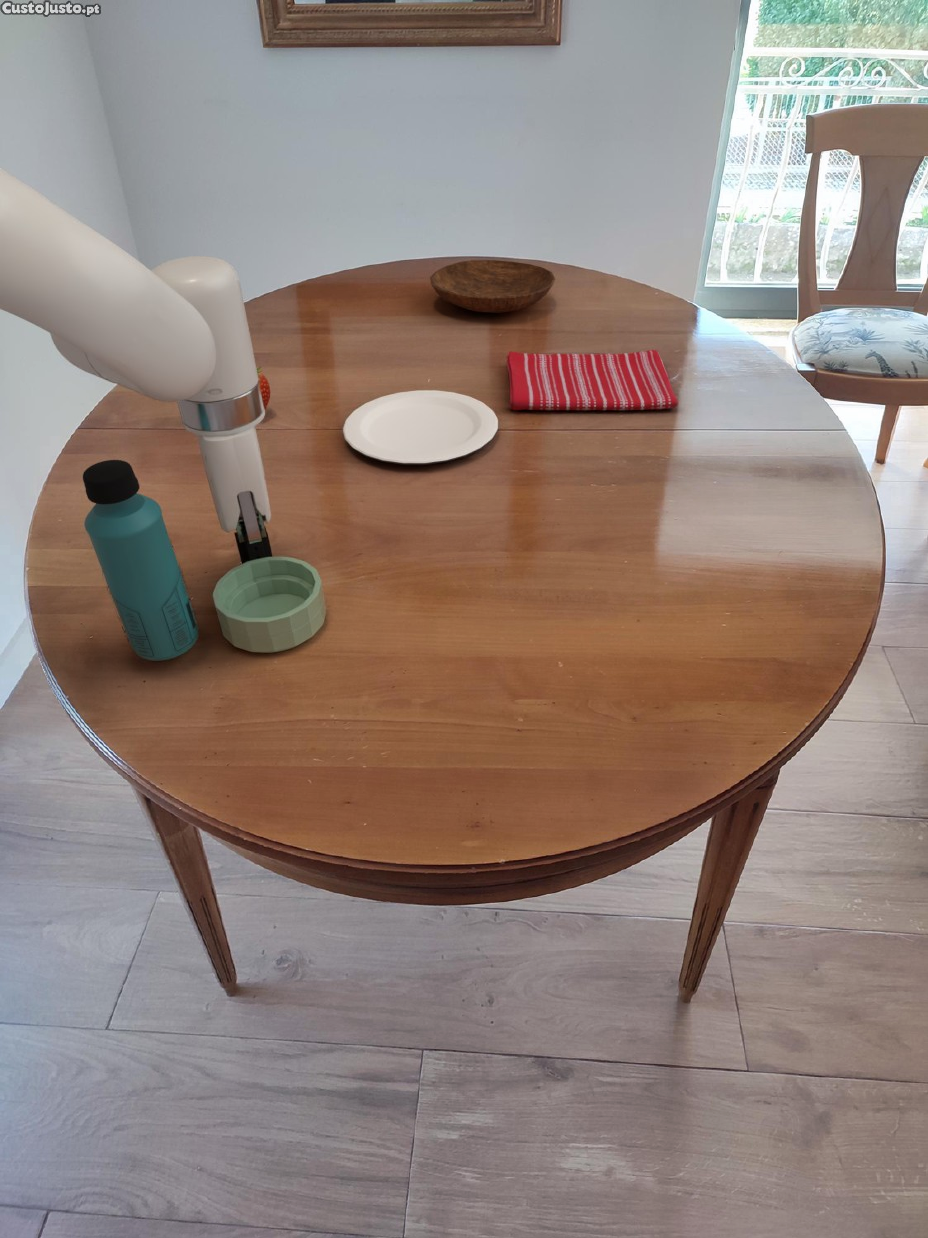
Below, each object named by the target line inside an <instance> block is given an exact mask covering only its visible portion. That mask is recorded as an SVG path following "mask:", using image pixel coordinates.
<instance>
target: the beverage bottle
mask: <svg viewBox="0 0 928 1238" xmlns="http://www.w3.org/2000/svg"><path fill="white" fill-rule="evenodd" d="M82 481H83V485H84V489H85V494H86V497H87V500H89V502H91V503H93V504H94V505H93V506H92V508H91V509H90V510H89V511H88V513H87V515H86V517H85V519H84V522H83V523H84V525H83V526H84V529H85V531H86V533H87V534H88V537H89V540H90V542H91V545H92V547H93V550H94V552H95V553H94V554H95V556H96V558H97V561H98V563H99V565H100V568H101V571H102V576H103V578H102V579H103V581H104V579H105V582H106V584H104V585H105V587H106V589H107V591H108V595H109V597H110V599H112V602H113V606H114V607H115V608H114V610H115V611H116V612H117V614H116V616H117V619H118V620H119V622H121V624H120V626H121V628H122V631H123V633H124V636H125V637H126V639H127V642H128V644H129V647H131V649H132V651H133V652H134V653H135V654H137V656H138V657H140V658H142V659H144V660H148V661H153V662H154V661H155V662H157V661H158V662H159V661H161V662H162V661H167V660H171V659H174V658H177V657H179V656H181V655H183V654H185V653H186V652H188V651H189V650H190V649H192V647H193V646H194V645H195V643H196V642H197V641H198V637H199V632H200V630H199V625H198V619H197V618H198V617H197V615H196V611H195V609H194V607H193V606H192V602H191V601H192V598H191V597H192V596H191V594H190V592H189V590H188V585H187V582H186V580H185V577H184V574H183V573H182V567H180V565H181V563H180V562H179V561H178V559H177V556H176V555H177V552H176V550H175V548H174V546H173V544H172V542H171V538H170V536H169V533H168V529H167V527H166V524H165V521H164V517H163V512H162V511H163V510H162V508H161V506H160V504H159V503H158V502H157V501H156V500H155V499H153V498H151V497H149V496H146V495H143V494H141V493H138V492H139V490H140V482H139V479H138V478H137V476H136V474H135V472H134V469H133V467H132V465H131V464H130V463H129V462H128V461H126V460H123V459H122V460H121V459H108V460H103V461H98V462H96V463H93V464H92V465H90V466H89V467H87V468H85V470H84V471H83V473H82ZM178 562H179V563H178ZM106 585H107V586H106Z"/></svg>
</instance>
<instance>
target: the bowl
mask: <svg viewBox="0 0 928 1238" xmlns="http://www.w3.org/2000/svg"><path fill="white" fill-rule="evenodd" d="M429 281H430V285H431V286H432V288H433V290H434V291H435V293H437V294H438V295H439V296H440V297H441V298H442V299H443V300H444V301H446V302H448V303H450V304H452V305H455V306H458V307H459V308H462V309H465V310H469V311H472V312H476V313H489V314H491V313H492V314H501V313H509V312H510V313H511V312H514V311H519V310H521V309H525V308H527V307H529V306H532V305H535V304H536V303H538V302H539V301H540V300H541V299H543V298H544V297H545V296H546V295H547V294H548V293H549V292H550V290H551V288H552V287H553V285H554V283H555V281H556V277H555V275H554V274H553V272H552V271H551V270H549V269H547V268H545V267H543V266H538V265H535V264H532V263H524V262H518V261H507V260H498V259H496V260H495V259H473V260H464V261H460V262H455V263H451V264H448V265H445V266H443V267H442V268H440V269H438V270H435V272H434V273H433V274H432V275H431V276H430V277H429Z"/></svg>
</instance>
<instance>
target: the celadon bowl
mask: <svg viewBox="0 0 928 1238" xmlns="http://www.w3.org/2000/svg"><path fill="white" fill-rule="evenodd" d="M324 593H325V592H324V588H323V582H322V578H321V577H320V574H319V572H318V570H317V568H315V567H314V566H313V565H311V564H310V563H308V562H307V561H305V560H301V559H297V558H294V557H290V556H273V557H265V558H261V559H256V560H252V561H248V562H245V563H243V564H242V563H241V564H239V565H238V566H235V567H233V568H231V569H230V570H228V571H227V572H226V573H225V574H224V575H223V576H222V577H221V578H219V579H218V580H217V582H216V584H215V587H214V590H213V592H212V599H213V603H214V604H213V605H214V608H215V611H216V615H217V619H218V622H219V625H220V629H221V632H222V636H223V638H225V639H226V641H228V642H229V643H230V644H231V645H232V646H234V647H235V648H238V649H242V650H244V651H248V652H250V653H261V654H262V653H263V654H270V653H271V654H272V653H279V652H284V651H287V650H291V649H293V648H295V647H298V646H299V645H301V644H303V643H305V642H306V641H307V640H309V639H311V638H312V637H314V635H315V634H316V633H318V631H319V630H320V629H321V627H323V625H324V623H325V619H326V614H327V605H326V599H325V595H324Z"/></svg>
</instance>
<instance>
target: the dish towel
mask: <svg viewBox="0 0 928 1238" xmlns="http://www.w3.org/2000/svg"><path fill="white" fill-rule="evenodd" d="M506 369H507V372H508V375H509V376H508V377H509V378H508V379H509V389H510V391H509V409H510V410H513V411H522V410H523V411H524V410H529V411H596V410H597V411H633V410H634V411H636V410H637V411H644V410H665V409H674V408H677V406H678V405H679V400H678V399H677V397H676V395H675V392H674V389H673V387H672V384H671V381H670V378H669V376H668V373H667V370H666V368H665V366H664V362H663V360H662V357H661V355H660V353H659V352H658V350H657V349H648V350H641V351H634V352H632V353H628V352H623V353H597V354H594V353H589V354H587V353H580V354H579V353H553V354H544V353H526V352H523V353H521V352H518V351H513V350H510V351H508V355H507V356H506Z"/></svg>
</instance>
